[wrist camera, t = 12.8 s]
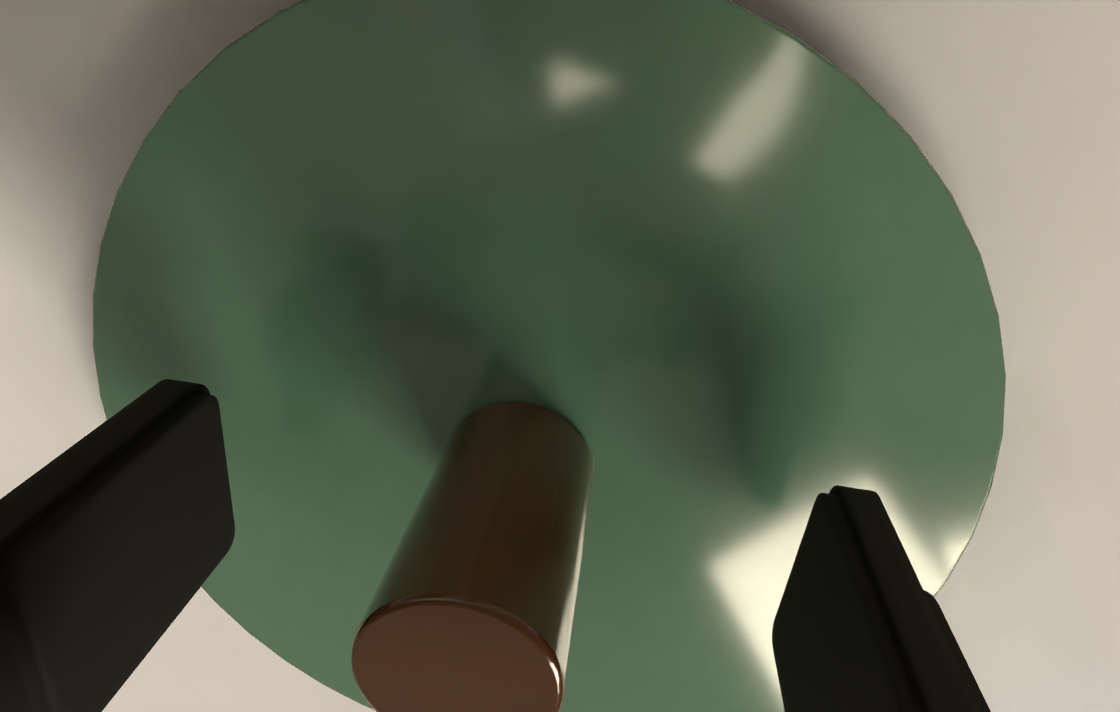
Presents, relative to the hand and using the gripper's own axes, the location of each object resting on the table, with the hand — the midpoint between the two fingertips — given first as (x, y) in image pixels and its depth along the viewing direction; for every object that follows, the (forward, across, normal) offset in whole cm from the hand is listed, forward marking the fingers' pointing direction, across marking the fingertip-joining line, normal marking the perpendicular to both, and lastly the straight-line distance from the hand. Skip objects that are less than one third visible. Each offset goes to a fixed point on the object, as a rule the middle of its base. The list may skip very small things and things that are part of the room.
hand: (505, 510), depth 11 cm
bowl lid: (+2, 0, 0) cm, 2 cm away
